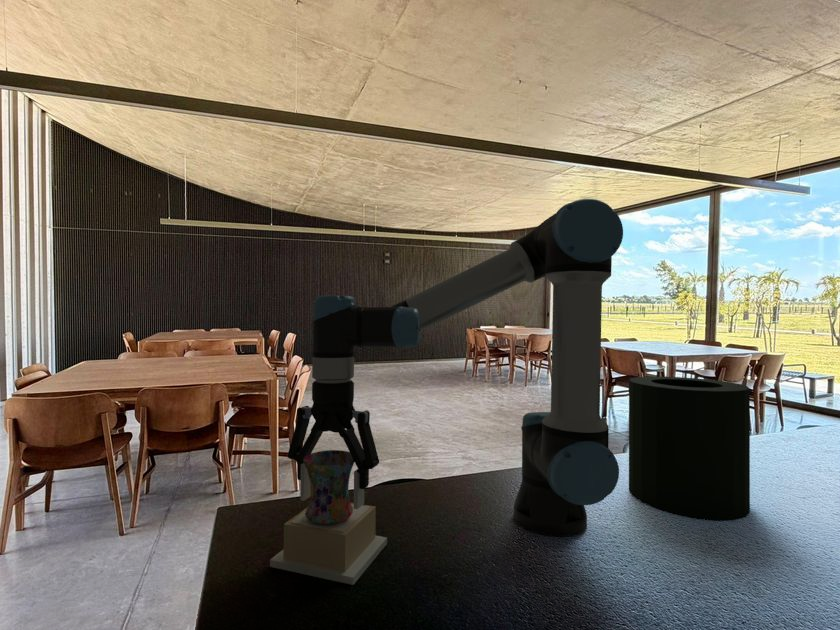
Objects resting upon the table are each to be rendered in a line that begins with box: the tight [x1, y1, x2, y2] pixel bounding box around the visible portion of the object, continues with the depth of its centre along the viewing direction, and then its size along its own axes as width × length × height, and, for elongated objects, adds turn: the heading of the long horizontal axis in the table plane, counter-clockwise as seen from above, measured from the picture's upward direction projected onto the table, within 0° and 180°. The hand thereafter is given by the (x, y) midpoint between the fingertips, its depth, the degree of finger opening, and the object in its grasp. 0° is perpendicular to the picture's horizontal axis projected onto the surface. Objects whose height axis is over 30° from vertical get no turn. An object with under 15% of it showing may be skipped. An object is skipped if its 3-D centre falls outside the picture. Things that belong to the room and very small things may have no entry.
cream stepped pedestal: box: [269, 502, 388, 586], centre depth 81 cm, size 16×14×7 cm
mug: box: [303, 449, 355, 524], centre depth 81 cm, size 12×9×11 cm
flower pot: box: [628, 376, 751, 522], centre depth 108 cm, size 25×25×28 cm
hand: (332, 501), depth 81 cm, fingers open, 10 cm apart
